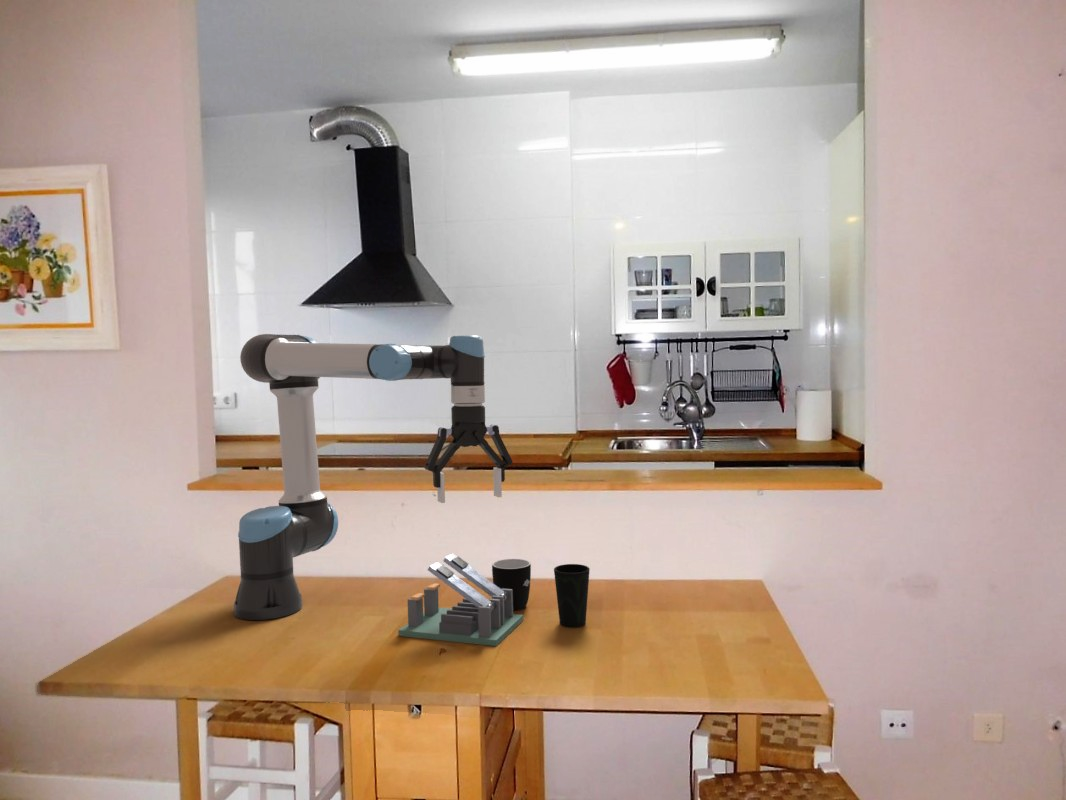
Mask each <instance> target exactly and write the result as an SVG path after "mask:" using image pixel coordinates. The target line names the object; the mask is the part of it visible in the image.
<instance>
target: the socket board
mask: <svg viewBox="0 0 1066 800" xmlns="http://www.w3.org/2000/svg"><path fill="white" fill-rule="evenodd" d="M439 588H441V583H432V584H430V585H429V586H426V587H425V588H424V589H423V592H422V593H421V592H418V593H416V594H414V595H412V596H410V597H409V598H407V624H405V625H404V626H402V627H401V628H399V629H397V631H398V632H397V633H398V636H399V637H405V638H406V637H407V638H415V639H416V638H417V639H428V640H435V641H446V642H455V643H464V644H475V645H484V646H493V647H497V646H498V645H500V643H501V642H502V641H504V640H505V639H506V638H507V637H508V636H509V635H510V634H511V633H512V632H513V631H514V630H515V629H516V628H517V627H518V626H520V624H521V623H522V622H523V621H524V614H515V613H514V611H513V589H502V590H503V591H506V592H508V594H509V597H508V598H507V599H506V600H505V601H504V596H495V595H493V596H492V597H491V598H487V599H488V600H490V601H491V602H495V604H496V608H495V609H494V610H493V611H491V607H485V606H479V607H476V606H475V605H474V604H472V603H471V602H470V601H468V600H467V599H466V598H464V597H463V599H462V601H458V602H457V605H453V606H452V607H451V608H450V607H439Z"/></svg>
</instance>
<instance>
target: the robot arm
mask: <svg viewBox="0 0 1066 800" xmlns="http://www.w3.org/2000/svg"><path fill="white" fill-rule="evenodd" d="M242 346H243V347H241V348H242V349H241V352H240V357H239V358H240V360H239V361H240V364H241V368H242V369H243V372H244V373H246V375H247V376H248V377H249V378H251V379H252V380H255V381H257V382H259V383H264V384H265V383H266V384H267V383H268V384H269V385H268V386H269V391H270V393H272V394H273V395H274V396H275V398H276V403H277V405H276V406H277V415H278V416H277V418H278V427H279V429H278V430H279V443H280V453H281V454H280V455H281V467H282V479H283V480H282V481H283V492H284V493H283V495H282V496H281V497H280V498H279V500H278V505H271V506H270V505H269V506H266V507H261V508H257V509H253V510H250V511H249V512H246V513H245V514H243V515H242V516H241V518H240V519H239V522H238V533H237V535H238V536H237V537H238V546H239V547H238V548H239V565H240V582H239V586H238V589H237V593H236V596H235V600H234V603H233V615H234V617H236V618H238V619H241V620H246V621H265V620H274V619H280V618H283V617H287V616H290V615H293V614H296V613H298V612H299V611H300V610H301V609H302V608H303V596H302V594H301V593H300V589H299V586H298V583H297V581H296V578H295V575H294V558H298V557H299V556H301V555H305V554H307V553H310V552H316V551H318V550H320V549H321V548H323V547H325V546H327V545H328V544H330V543H331V542H332V541H333V539H335V537H336V535H337V532H338V529H339V518H338V514H337V511H336V509H334V507H333V505H332V504H330V503H329V502H328V495H327V494H326V493H324V492H323V491H322V490H321V486H320V485H321V482H320V473H319V470H320V469H319V457H318V448H317V447H318V446H317V432H316V420H315V419H316V418H315V406H314V394H315V393H316V392H317V390H318V389H319V387H320V386H319V379H320V378H339V379H340V378H343V379H344V378H345V379H367V380H368V379H369V380H381V381H387V382H388V381H389V382H392V381H393V382H395V381H404V380H424V379H425V380H427V379H428V380H430V379H450V403H451V404H452V406H451V411H450V413H451V426H450V428H445V427H439V428H438V429H437V437H436V439H435V442H434V443H433V447H432V449H431V450H430V453H429V455H428V458H427V459H426V463H425V464H424V469H425V470H426V471H429V472H431V473H432V477H433V478H432V481H433V482H432V486H433V487H434V488H437V502H439V503H441V504H444V503H446V487H445V485H446V484H445V480H446V479H445V472H442V471H443V470H444V468H445V467H446V465H447V464H448V462H450V460H451V458H452V457H453V456H454V454H455V453H456V452H457V451H458V450H459V449H460V448H461V447H463V448H468V447H478V446H479V447H480V448H481V449H482V451H483V452H484V453H485V454H486V455H487V456H488V457H489V458H490V460H491V462H493V463H494V464H495V466H496V467H493V468H492V469H493V496H494V497H495V498H496V497H497V498H502V494H503V493H502V483H504V482H505V480H506V477H505V476H506V472H505V471H506V468H507V466H509V465H510V466H511V465H512V464H513V459H512V458H511V456H510V453H509V452H508V449H507V447H506V444H505V443H504V441H503V439H502V437H501V435H500V428H499V425H497V424H490V425H487V426H486V406H485V405H483V404H484V403H485V402H486V394H485V393H486V391H485V389H486V388H485V387H486V386H485V357H486V354H485V349H484V347H485V346H484V339H483V338H482V337H481V335H452V336H451V337H450V338H449V344H445V345H417V344H396V343H384V344H383V343H382V344H378V343H376V344H375V343H335V342H334V343H331V342H330V343H329V342H319V343H318V342H317V340H315V339H313V338H311V337H309V336H304V335H301V334H273V333H262V334H256V335H255V336H252V337H251V338H250V339H249V340H247V341H246V342H245V344H244V345H242ZM487 434H488V435H489V436H490V437H491V440H492V441H493V443H494V445H495V448H496V450H497V452H498V453H499V455H498V454H497V453H496V451H495V450H494V449H493V448H492V446H490V444H489V442H488V441H487V439H486V438H485V436H486V435H487ZM450 435H451V437H452V438H453V439H452V440H451V441H450V443H449V445H448V447H447V448H446V449H445V450H444V452H443V453H442V455H441V456H440V454H441V452H442V450H443V448H444V446H445V442H446V439H448V438H449V436H450ZM439 457H440V458H439Z"/></svg>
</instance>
